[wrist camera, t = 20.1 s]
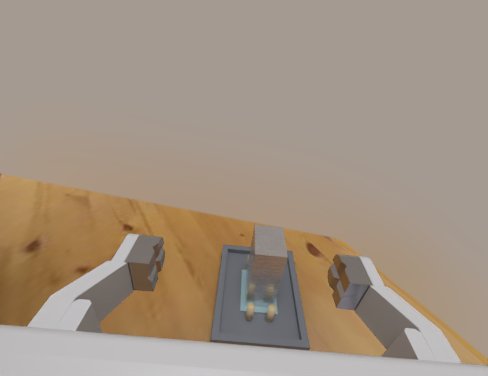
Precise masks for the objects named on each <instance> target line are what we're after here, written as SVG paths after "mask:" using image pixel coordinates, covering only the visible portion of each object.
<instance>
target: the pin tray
mask: <svg viewBox="0 0 488 376" xmlns="http://www.w3.org/2000/svg"><path fill="white" fill-rule="evenodd" d="M250 248H251V247H243V246H233V245H223V251H222V259H221V267H220V274H219V282H218V289H217V297H216V304H215V312H214V319H213V327H212V335H211V342H214V343H226V344H238V345H250V346H262V347H274V348H286V349H297V350H309V349H310V345H309V340H308V335H307V329H306V324H305V318H304V313H303V307H302V302H301V297H300V291H299V286H298V280H297V275H296V270H295V264H294V259H293V253H292V251H287V255H288V258H287V262H286V265H285V268H284V272H283V275H282V278H281V282H280V285H279V288H278V291H277V295H276V298H275V301H274V305H273V304H270V305H269V307H258V306H255V304H254V303H252V302H250V303H248V305H245V288H246V271H247V265H248V259H249V254H250Z"/></svg>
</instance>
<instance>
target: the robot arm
mask: <svg viewBox="0 0 488 376" xmlns="http://www.w3.org/2000/svg"><path fill="white" fill-rule="evenodd" d="M163 244H164V241H163V238H162V237H155V236H147V235H138V234H128V235H127V236H126V238H125V239H124V241H123V243H122V244H121V246H120V247H119V249H118V251H117V252H116V254H115V255H114V257H113V259H112V260H111V261H106V262H105V263H103V264H101V265H100V266H98V267H97V268H95V269H93V270H92V271H90V272H88V273H87V274H85V275H83V276H82V277H80V278H79V279H77V280H75V281H74V282H72V283H70V284H69V285H67V286H65V287H64V288H62V289H61V290H59V291H57V292H56V293H54V294H52V295H51V296H50V297H49V299H48V300H47V301H46V302H45V304H44V305H43V306H42V308H41V309H40V310H39V312H38V313H37V314H36V315H35V317H34V318H33V319H32V321H31V322H30V323H29V325H28V326H27V327H25V326H13V325H1V324H0V376H488V365H476V364H464V363H461V361H460V360H459V358H458V356H457V355H456V353H455V352H454V350H453V349H452V347H451V345H450V344H449V342H448V341H447V339H446V337H445V336H444V334H443V333H442V331H441V330H440V329H439V328H437V327H436V326H435V325H434V324H433V323H431V322H430V321H429V320H428V319H426V318H425V317H424V316H423V315H422V314H420V313H419V312H418V311H417V310H416V309H414V308H413V307H412V306H411V305H409V304H408V303H407V302H406V301H405V300H403V299H402V298H401V297H400V296H398V295H397V294H396V293H395V292H394V291H392V290H391V289H390V288H389V287H385V285H384V284H383V282H382V280H381V278H380V276H379V274H378V272H377V270H376V268H375V267H374V265H373V263H372V261H371V259H370V258H369V257H360V256H349V255H338V254H337V255H335V256H334V258H333V262H334V264H333V265H331V266H330V268H329V270H328V282H329V286H330V287H331V288H332V289H333V290H334V292H333V294H332V295H333V299H334V302H335V305H336V308H340V309H348V310H355V312H356V314H357V315H358V316H359V317H360V318H361V319H362V321H363V322H364V323H365V324H366V325H367V327H368V328H369V329H370V330H371V331H372V333H373V334H374V335H375V336H376V337H377V339H378V340H379V341H380V342H381V343H382V345H383V346H384V347H385V348H386V349H387V350H386V351H385V352H384V354H383V355H382V356H369V355H357V354H345V353H333V352H321V351H309V350H297V349H286V348H274V347H262V346H250V345H238V344H226V343H214V342H202V341H190V340H178V339H166V338H154V337H142V336H131V335H119V334H107V333H103V332H102V330H101V327H100V324H99V322H100V321H101V320H103V319H104V318H105V317H106V316H107V315H108V314H109V313H110V312H111V311H112V310H114V309H115V308H116V307H117V306H118V305H119V304H120V303H121V302H122V301H123V300H125V299H126V298H127V297H128V296H129V295H130V294H131V293H132V292H133V290H138V291H153V290H154V288H155V285H156V282H157V280H158V274H157V273H158V272H160V271H161V269H162V267H163V263H164V258H165V251H164V249H163V248H162V246H163Z"/></svg>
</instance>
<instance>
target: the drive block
mask: <svg viewBox="0 0 488 376" xmlns="http://www.w3.org/2000/svg"><path fill="white" fill-rule="evenodd" d="M287 258H288V255H287V249H286V243H285V237H284V230H283V228H281V227H271V226H262V225H255V226H254V231H253V237H252V242H251V248H250V254H249V259H248V265H247V271H246V288H245V305H248V303H250V302H252V303H254V304H255V306H258V307H269V305H270V304H273V305H274V301H275V298H276V295H277V291H278V288H279V285H280V282H281V278H282V275H283V272H284V268H285V265H286V262H287Z"/></svg>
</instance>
